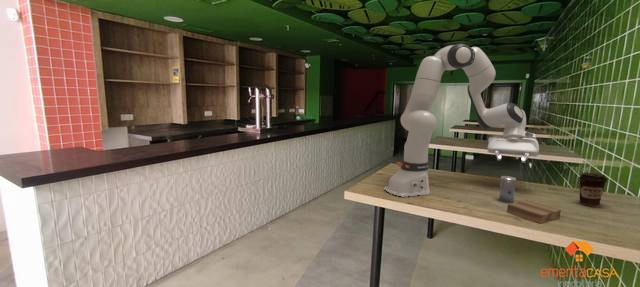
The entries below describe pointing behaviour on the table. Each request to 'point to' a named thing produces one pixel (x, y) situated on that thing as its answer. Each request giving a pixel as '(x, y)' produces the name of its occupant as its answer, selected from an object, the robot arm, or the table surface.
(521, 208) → the base block
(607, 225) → the table surface
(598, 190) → the coffee cup
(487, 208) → the table surface
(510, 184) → the tin
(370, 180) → the table surface
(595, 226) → the table surface
